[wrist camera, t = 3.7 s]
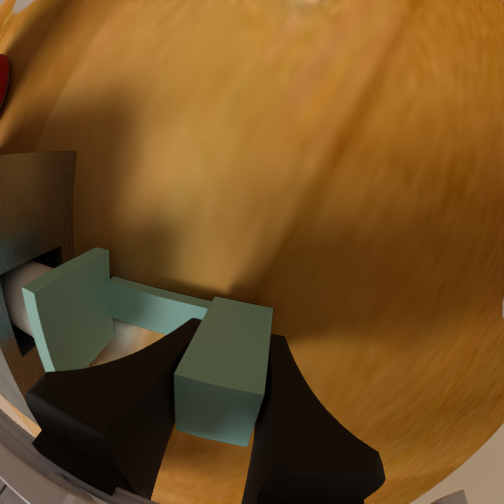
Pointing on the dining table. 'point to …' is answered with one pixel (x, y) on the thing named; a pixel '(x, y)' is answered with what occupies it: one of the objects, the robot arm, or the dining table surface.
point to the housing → (31, 250)
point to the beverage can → (3, 77)
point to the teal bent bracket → (156, 319)
